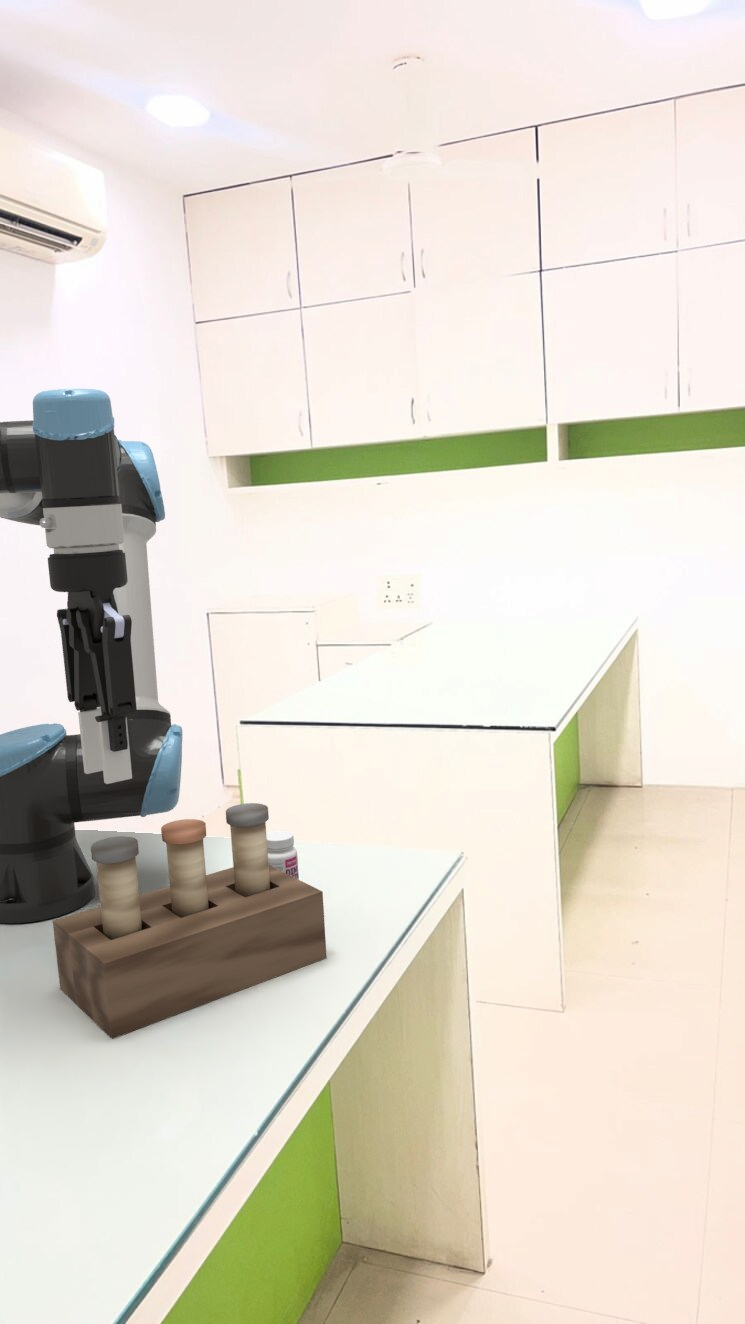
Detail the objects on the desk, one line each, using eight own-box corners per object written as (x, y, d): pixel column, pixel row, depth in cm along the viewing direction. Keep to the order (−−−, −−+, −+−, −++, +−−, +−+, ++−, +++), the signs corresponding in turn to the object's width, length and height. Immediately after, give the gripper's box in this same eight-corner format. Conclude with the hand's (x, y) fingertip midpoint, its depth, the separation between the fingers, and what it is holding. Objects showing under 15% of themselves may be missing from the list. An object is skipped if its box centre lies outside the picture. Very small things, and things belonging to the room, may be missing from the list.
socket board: (60, 989, 114) (52, 920, 113) (262, 920, 130) (258, 859, 128) (111, 1038, 103) (104, 963, 102) (326, 957, 118) (322, 891, 117)
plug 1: (94, 952, 111) (83, 844, 109) (136, 939, 114) (126, 833, 112) (112, 968, 107) (101, 855, 105) (155, 953, 110) (145, 844, 108)
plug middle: (162, 930, 116) (153, 826, 114) (201, 918, 119) (192, 816, 117) (182, 944, 112) (173, 836, 110) (221, 931, 115) (213, 826, 113)
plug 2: (225, 910, 121) (217, 809, 119) (261, 899, 124) (254, 800, 121) (246, 923, 117) (239, 819, 115) (282, 911, 120) (275, 809, 118)
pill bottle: (294, 904, 134) (290, 842, 133) (259, 903, 135) (254, 841, 134) (304, 889, 139) (300, 829, 137) (270, 888, 140) (265, 828, 138)
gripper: (19, 550, 108) (42, 767, 112) (83, 554, 94) (107, 801, 98) (87, 545, 113) (107, 753, 117) (159, 548, 99) (179, 784, 103)
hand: (107, 775), depth 107 cm, fingers open, 4 cm apart
